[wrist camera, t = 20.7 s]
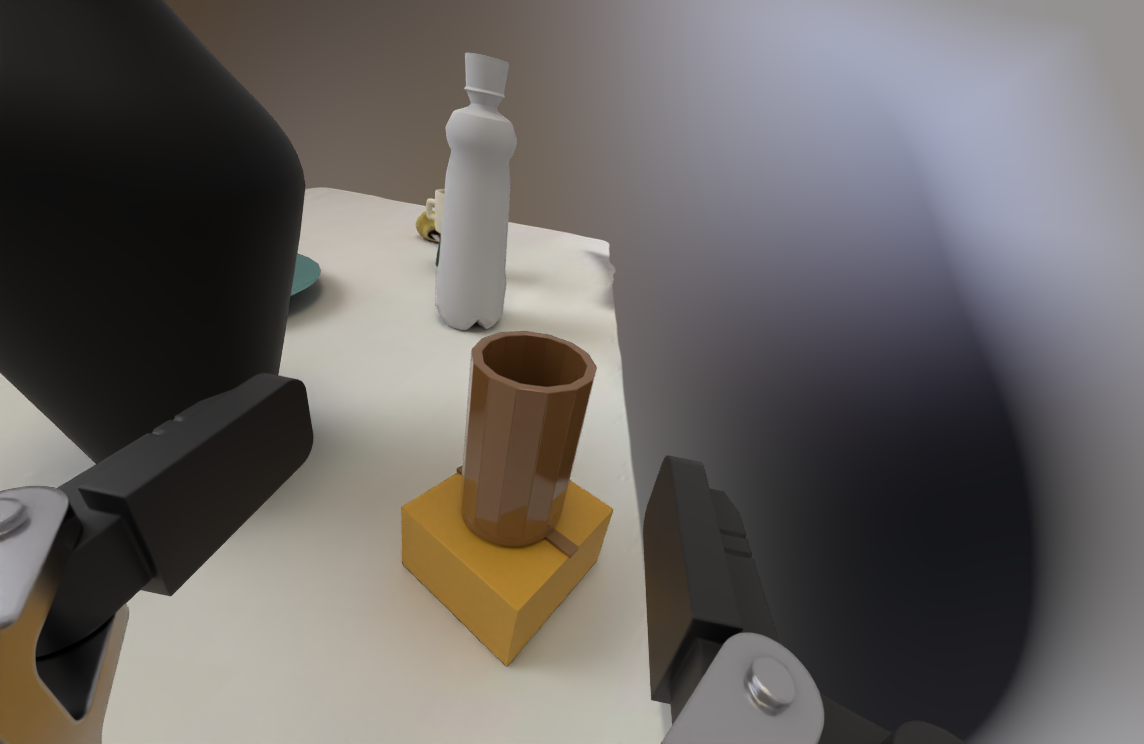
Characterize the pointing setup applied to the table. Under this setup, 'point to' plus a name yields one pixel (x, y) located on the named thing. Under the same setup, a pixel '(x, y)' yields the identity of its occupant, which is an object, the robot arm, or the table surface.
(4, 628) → the robot arm
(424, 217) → the fruit
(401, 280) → the table surface
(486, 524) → the cup
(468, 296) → the bottle
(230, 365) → the vase
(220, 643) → the table surface
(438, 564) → the box
